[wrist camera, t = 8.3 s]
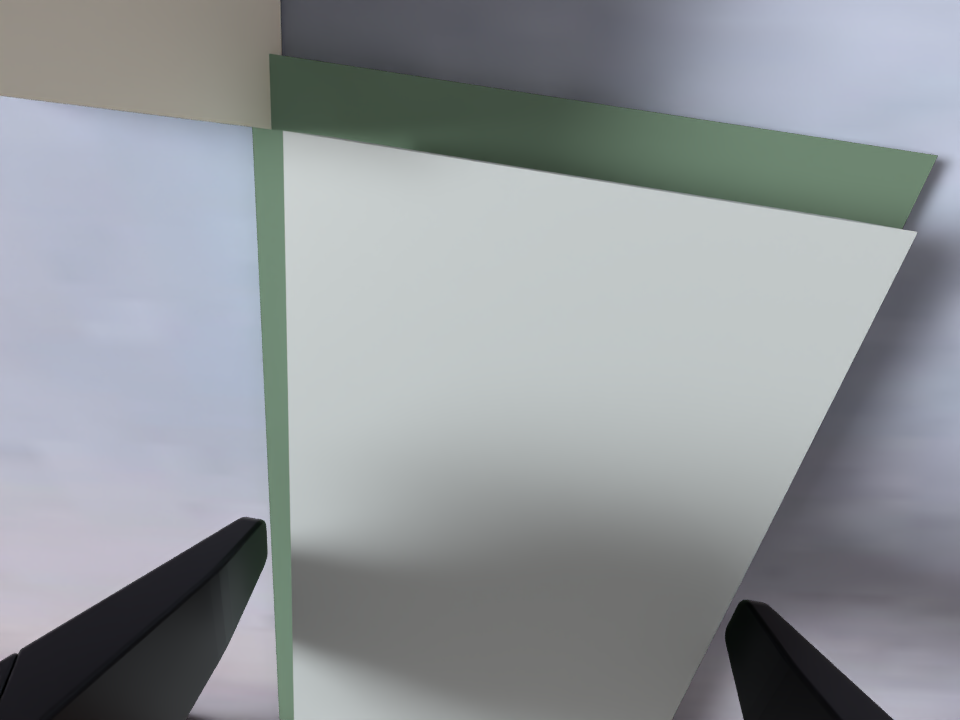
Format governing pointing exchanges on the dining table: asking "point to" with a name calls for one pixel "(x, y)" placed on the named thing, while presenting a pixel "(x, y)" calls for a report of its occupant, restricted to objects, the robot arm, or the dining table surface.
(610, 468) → the lid
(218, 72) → the pencil box
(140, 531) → the dining table surface
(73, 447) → the dining table surface
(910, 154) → the felt mat
